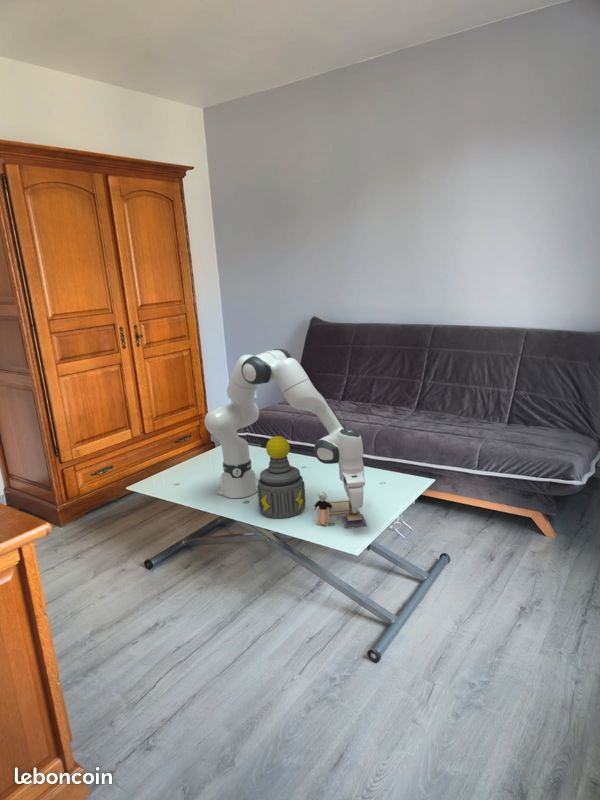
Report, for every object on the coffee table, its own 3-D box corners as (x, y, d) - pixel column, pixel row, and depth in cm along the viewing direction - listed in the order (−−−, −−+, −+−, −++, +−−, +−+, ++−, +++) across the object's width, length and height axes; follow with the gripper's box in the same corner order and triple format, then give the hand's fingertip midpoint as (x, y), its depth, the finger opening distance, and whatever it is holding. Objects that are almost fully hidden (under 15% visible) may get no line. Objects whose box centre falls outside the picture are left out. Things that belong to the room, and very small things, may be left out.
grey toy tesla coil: (280, 495, 226) (275, 427, 219) (316, 505, 214) (311, 433, 207) (248, 512, 212) (242, 439, 205) (285, 524, 200) (279, 447, 193)
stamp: (346, 516, 199) (345, 499, 198) (359, 515, 200) (358, 497, 198) (348, 522, 195) (347, 504, 193) (361, 521, 195) (361, 503, 193)
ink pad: (341, 518, 201) (341, 515, 201) (362, 516, 202) (362, 513, 201) (344, 528, 193) (344, 525, 193) (366, 526, 194) (366, 522, 194)
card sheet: (323, 502, 216) (323, 501, 216) (352, 499, 217) (352, 498, 217) (326, 515, 205) (326, 514, 205) (358, 512, 205) (358, 511, 205)
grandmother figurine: (313, 526, 196) (311, 494, 194) (314, 521, 200) (312, 489, 197) (334, 526, 195) (332, 494, 192) (335, 522, 199) (333, 489, 196)
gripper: (338, 464, 203) (340, 498, 206) (347, 484, 183) (349, 522, 186) (355, 463, 203) (356, 497, 207) (365, 483, 184) (367, 520, 187)
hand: (353, 509), depth 196 cm, fingers closed on stamp, 3 cm apart
